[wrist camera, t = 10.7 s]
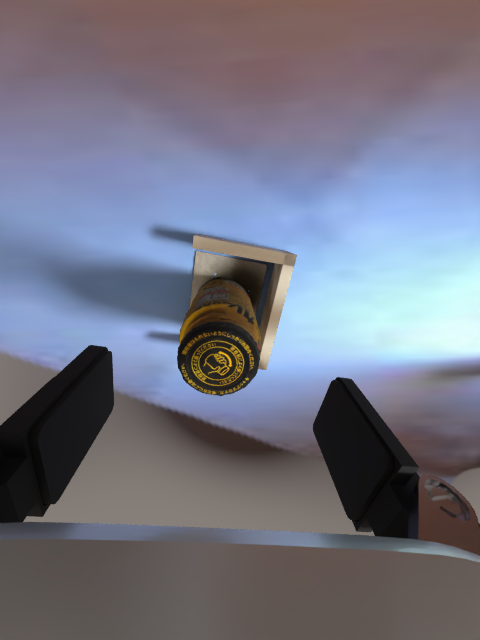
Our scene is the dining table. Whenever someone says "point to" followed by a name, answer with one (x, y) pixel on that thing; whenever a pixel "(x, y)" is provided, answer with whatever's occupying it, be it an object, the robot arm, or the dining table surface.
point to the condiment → (221, 325)
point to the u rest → (276, 288)
